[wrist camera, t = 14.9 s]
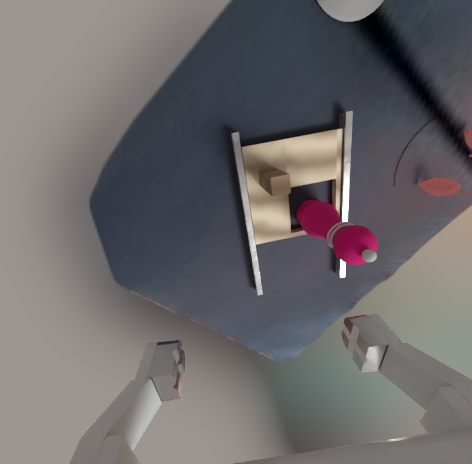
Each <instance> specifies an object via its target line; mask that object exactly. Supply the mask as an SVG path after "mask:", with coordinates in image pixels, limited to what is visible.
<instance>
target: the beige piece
mask: <svg viewBox="0 0 472 464" xmlns="http://www.w3.org/2000/svg"><path fill="white" fill-rule="evenodd" d="M342 136H343V128H342V129H335V130H329V131H324V132H319V133H313V134H308V135H303V136H297V137H292V138H287V139H281V140H276V141H271V142H265V143H260V144H255V145H249V146H244V147H241V152H242V159H243V165H244V172H245V179H246V185H247V192H248V199H249V206H250V212H251V219H252V226H253V232H254V239H255V244H260V243H265V242H270V241H275V240H280V239H285V238H290V237H295V236H300V235H304V234H307V233H306V232H305V231H304V230H303V228H298V229H293V230H291V224H290V210H289V196H288V194H289V193H291V187H295V186H301V185H306V184H311V183H316V182H321V181H326V180H331V179H332V206H333V207H334V208H335V209H336V210H337V211H338V213H339V215H340V198H341V167H342Z"/></svg>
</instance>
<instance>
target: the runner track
mask: <svg viewBox="0 0 472 464" xmlns="http://www.w3.org/2000/svg"><path fill="white" fill-rule="evenodd" d="M352 117H353V111H349V112H344V113H339V129H342V128H343V136H342V167H341V198H340V218H341V220H342V221H343V222H347V221H348V200H349V180H350V159H351V138H352ZM231 139H232V145H233V151H234V157H235V164H236V170H237V176H238V182H239V188H240V194H241V200H242V207H243V213H244V219H245V225H246V231H247V237H248V243H249V249H250V256H251V262H252V268H253V274H254V280H255V286H256V291H257V294H258V295H263V293H262V286H261V279H260V273H259V266H258V259H257V253H256V246H255V239H254V232H253V226H252V219H251V212H250V206H249V199H248V192H247V185H246V179H245V172H244V165H243V159H242V152H241V145H240V138H239V132H236V133H231ZM335 273H336V274H337V275H338V276H339V277H340V278H342V277H345V262H343V261H342V260H340V259H339V258H338V257H337V256H336V264H335Z"/></svg>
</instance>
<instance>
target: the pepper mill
mask: <svg viewBox="0 0 472 464" xmlns="http://www.w3.org/2000/svg"><path fill="white" fill-rule="evenodd" d="M296 217H297V221H298V222H299V223H300V224H301V226H302V228H303V230H304V231H305V232H306V233H307V234H309V235H310V236H313V237H316V238H325V239H326V240H327V242H328V244H329V246H330V247H332V248H333V250H334V253H335V254H336V256H337V257H338V258H339V259H340V260H342V261H343V262H345V263H348V264H352V265H358V264H363V263H365V262H373V261H374V260H375V259H376V257H377V255H376V250H377V247H378V246H377V239H376V237H375V235H374V234H373V233H372V232H371V231H370V230H369V229H367V228H365V227H362V226H355V225H353V224H352V223H350V222H343V221H342V220H341V218H340V215H339V213H338V211H337V210H336V209H335V208H334V207H333V206H332V205H331V204H329V203H327V202H320V201H318V200H315V199H309V200H306V201H304V202H303V203H302V204H301V205H300V206H299V207H298V209H297V213H296Z"/></svg>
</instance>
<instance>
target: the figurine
mask: <svg viewBox="0 0 472 464" xmlns="http://www.w3.org/2000/svg"><path fill="white" fill-rule="evenodd" d="M440 116H441V115H440ZM438 117H439V116H438ZM435 119H436V118H435ZM429 123H430V122H429ZM429 123H428V124H429ZM425 126H426V125H425ZM425 126H424V127H425ZM424 127H423V128H424ZM423 128H422V129H423ZM422 129H421V130H422ZM421 130H420V131H421ZM420 131H419V132H420ZM467 131H469V132H467ZM419 132H418V133H419ZM418 133H417V134H418ZM414 134H415V133H414ZM414 134H413V135H414ZM417 134H416V135H417ZM416 135H415V136H416ZM415 136H414V137H415ZM464 137H465V140H466V141H465V143H466V144H467V145H468V146H469V148H471V149H472V130H465V132H464ZM410 139H411V138H410ZM412 140H413V139H412ZM412 140H411V141H412ZM411 141H410V142H411ZM408 145H409V144H408ZM407 147H408V146H407ZM407 147H406V148H407ZM405 150H406V149H405ZM405 150H404V151H405ZM403 153H404V152H403ZM402 155H403V154H402ZM471 156H472V154H469V157H471ZM401 157H402V156H401ZM400 159H401V158H400ZM397 161H398V160H397ZM399 162H400V160H399ZM396 164H397V163H396ZM398 165H399V163H398ZM395 167H396V166H395ZM397 168H398V166H397ZM396 171H397V169H396ZM395 176H396V174H395ZM418 185H419V186H420V188H422V189H423V190H424V191H426V192H427V193H429V194H431V195H434V196H446V195H452V194H454V193H456V192H460V193H463V194H466V195H468V196H471V197H472V194H469V193H467V192H464V191H461V190H459V188H460V186H459V184H458V182H456V181H454V180H451V179H449V178H444V177H438V178H432V179H429V180H426V181H423V182H421V183H419V184H418ZM394 186H395V180H394Z"/></svg>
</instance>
